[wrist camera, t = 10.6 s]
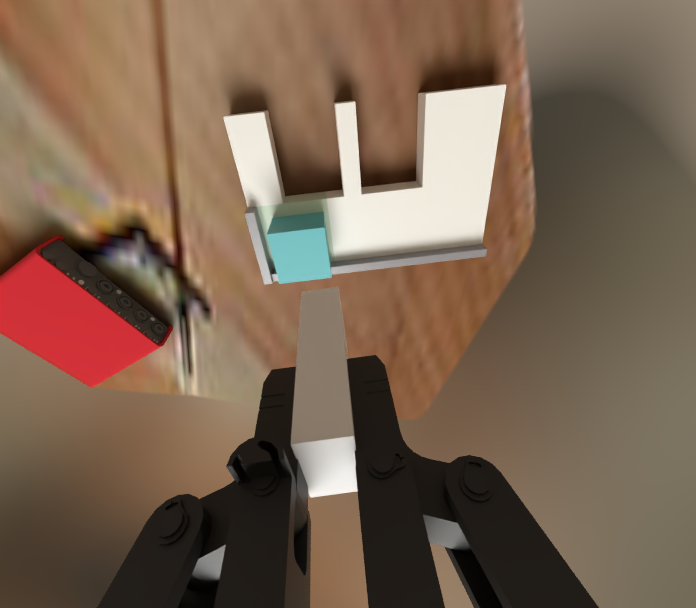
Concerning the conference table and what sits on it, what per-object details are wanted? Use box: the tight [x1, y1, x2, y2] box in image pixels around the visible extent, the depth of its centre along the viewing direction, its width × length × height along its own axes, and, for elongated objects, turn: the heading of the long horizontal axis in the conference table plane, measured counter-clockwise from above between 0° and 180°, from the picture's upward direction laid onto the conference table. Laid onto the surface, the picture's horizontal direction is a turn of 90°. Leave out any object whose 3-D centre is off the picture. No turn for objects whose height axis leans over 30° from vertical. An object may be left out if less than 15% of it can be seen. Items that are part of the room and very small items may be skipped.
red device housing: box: [0, 235, 173, 387], centre depth 44 cm, size 18×14×5 cm
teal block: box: [267, 212, 332, 284], centre depth 37 cm, size 6×6×5 cm
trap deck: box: [223, 84, 506, 284], centre depth 37 cm, size 18×28×5 cm, turn 95°
